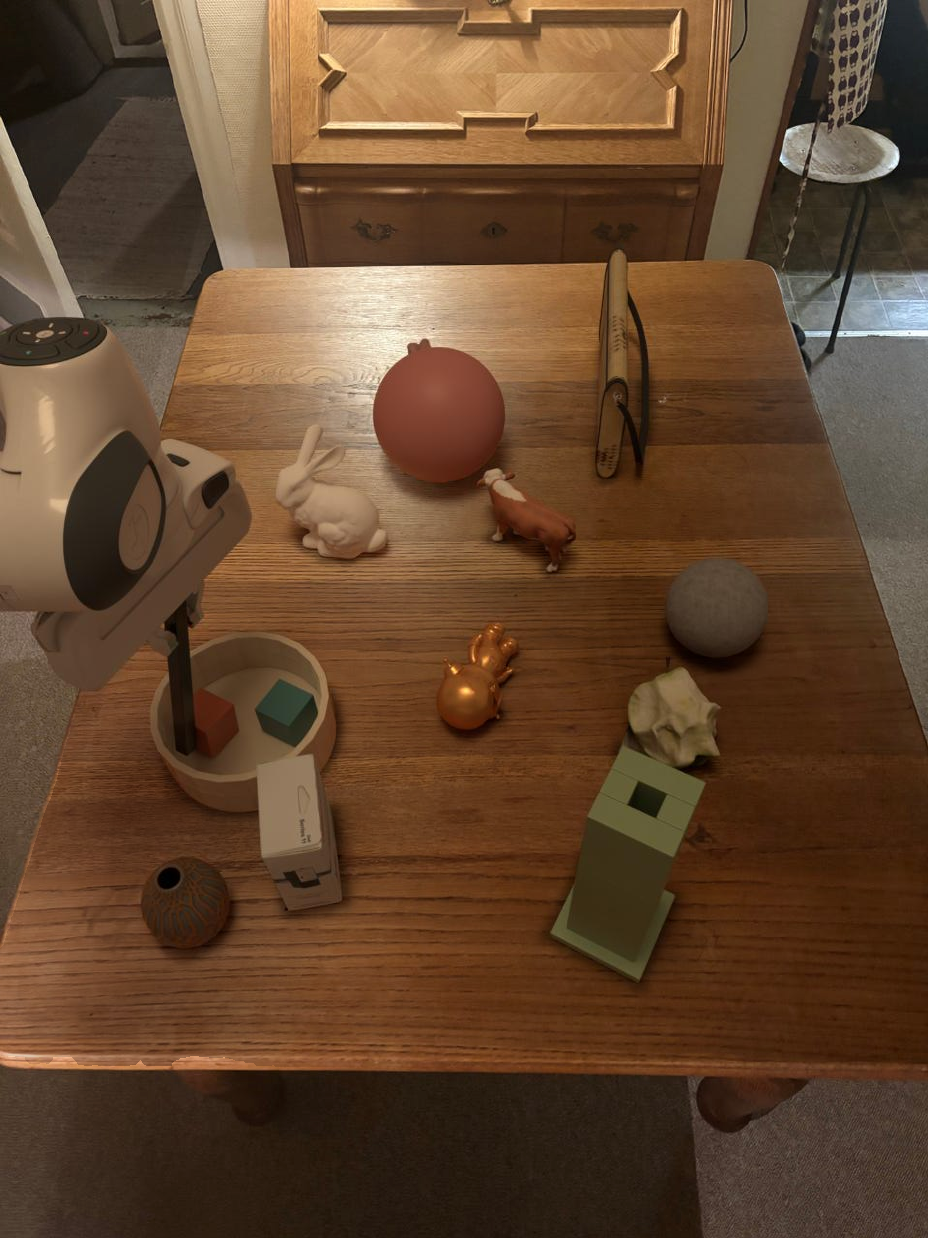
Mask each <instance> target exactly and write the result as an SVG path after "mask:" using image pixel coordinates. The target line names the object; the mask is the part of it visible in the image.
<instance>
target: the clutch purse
mask: <svg viewBox="0 0 928 1238" xmlns="http://www.w3.org/2000/svg"><path fill="white" fill-rule="evenodd" d="M628 268H629V264H628V256H627V252H626V251H625V250H624V248H622V247H621V246H620V247H616V248H615V247H614V249H613V250H612V251H611V253H610V254H609V257H608V258H607V263H606V266H605V271H604V277H603V286H602V297H601V306H600V316H599V324H598V342H599V360H598V362H599V365H598V367H599V368H598V396H597V397H598V400H597V440H596V447H595V457H594V459H595V461H594V462H595V463H594V465H595V469H596V472H597V474H598V476H600V477H601V478H605V479H607V478H610V477H611V476H613V475H614V474H615V472H616V471H617V469H618V466H619V463H620V458H621V454H622V447H623V440H624V439H623V438H624V433H625V428H626V426H627V429H628V433H629V437H630V441H631V446H632V450H633V451H632V452H633V456H634V461H635V463H636V464H639V465H642V466H643V465H644V460H645V452H646V444H647V437H648V431H649V423H650V372H649V371H650V368H649V352H648V351H649V350H648V346H647V339H646V335H645V330H644V325H643V323H642V320H641V317H640V314H639V311H638V309H637V306H636V304H635V301H634V299H633V297H632V296H631V295H632V294H631V293H630V291H629V287H628V283H629V282H628V281H629V280H628V270H629V269H628ZM629 311H630V314H631V317H632V319H633V322H634V325H635V328H636V332H637V338H638V342H639V349H640V354H641V355H640V356H641V422H640V430H639V436H638V432H637V429H636V425H635V422H634V420H633V417H632V415H631V413H630V411H629V408H628V407H629V397H630V396H629V395H630V394H629V315H628V314H629Z"/></svg>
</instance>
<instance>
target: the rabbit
mask: <svg viewBox="0 0 928 1238" xmlns="http://www.w3.org/2000/svg"><path fill="white" fill-rule="evenodd" d="M323 434H324V427H323V426H322V425H321V424H318V423H315V424H312V425H310V426H309V427H308V428H307V430H306V432H305V435H304V437H303V440H302V444H301V447H300V450H299V453H298V456H297V458H296V461H295V463H294V464H291V465H289V466H286V467H284V468H282V469H281V470H280V471H279V473H278V476H277V478H278V479H277V483H276V485H275V493H274V500H275V503H276V504H277V505H279V506H281V508H282V509H285V510H288V513H289V516H290V517H291V519H292V521H294V522H295V523H296V524H297V525H298V526H300V527H302V528H305V529H307V530H308V531H309V533H307V534H305V535H304V536H303V538H302V545H303V547H304V548H306V549H317V552H318V554H319V555H320V557H324V558H341V559H354V558H356V557H358V556H359V555H360V554H362V553H374V552H377V551H379V550H382V549H383V548H384V547H385V546H386V544H387V542H388V538H389V533H388V531H387V530H385V529H383V528H380V511H379V509H378V507H377V506H376V504H375V503H374V501H373V500H372V499H370V497H368V496H367V495H366V494H365V493H364V492H363V491H361V490H360V489H358V488H356V487H348V486H345V485H337V484H333V483H330V482H327V481H326V480H323V479H316V478H315V476H316V475H317V474H320V473H321V472H325V471H329V470H330V469H334V468H336V467H337V466H338V465H340V464H341V462H342V461H343V460H344V458H345V455H346V447H345V446H344V445H343V444H337V445H335V446H333V447H331V448H330V449H328V450H327V451H325V452H323V453H321V454H319V455H317V456H316V457H314V458H313V456H314V454H315V451H316V449H317V446H318V444H319V442H320V440H321V438H322V437H323ZM311 459H312V460H311Z"/></svg>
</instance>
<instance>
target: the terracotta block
mask: <svg viewBox="0 0 928 1238" xmlns="http://www.w3.org/2000/svg"><path fill="white" fill-rule="evenodd" d="M193 700H194V714H195V727H196V741H197V749H195V750H197V751H199V752H201V753H203V754H205V755H207V756H208V757H210V758H213V757H214V756H215V755H216V754H217V753H218V752H219V751H220V750H221V749H222V748H223V747H224V746H225V745H226V744H227V743H228V742H229V741H230V740H231V738H232V737H233V736H234V735H235V734H236V733H237V732H238V731H239V727H238V722H237V717H236V712H235V708H234V704H232V703H230V702H228V701H226V700H224V699H222V698H220V697H218V696H216V695H214V694H213V693H211V692H209V691H207V690H205V689H203V688H200V689H199V690H198V691H197V692H196V693H195V694H194V695H193Z"/></svg>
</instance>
